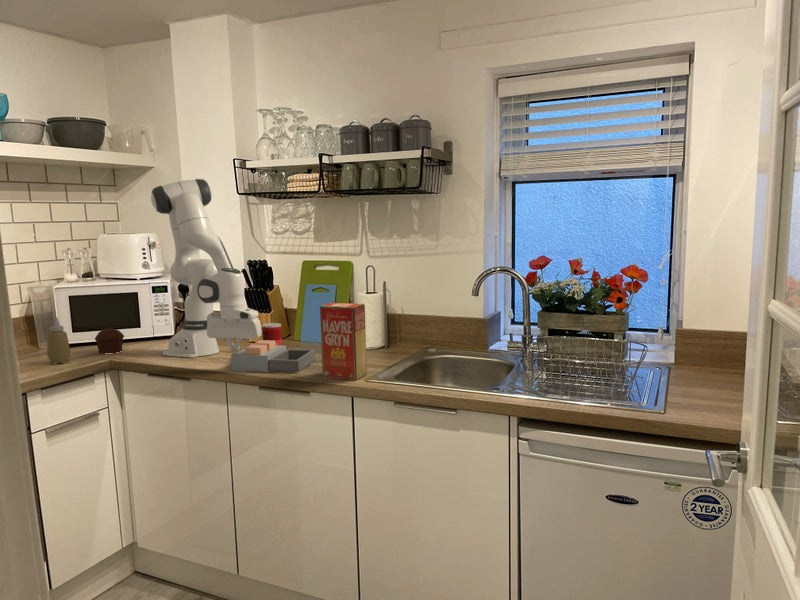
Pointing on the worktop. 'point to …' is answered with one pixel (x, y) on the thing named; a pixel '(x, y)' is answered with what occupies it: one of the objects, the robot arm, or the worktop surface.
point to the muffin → (109, 341)
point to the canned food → (272, 332)
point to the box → (291, 360)
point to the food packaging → (343, 341)
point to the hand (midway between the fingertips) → (234, 350)
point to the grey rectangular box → (254, 360)
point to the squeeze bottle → (58, 344)
